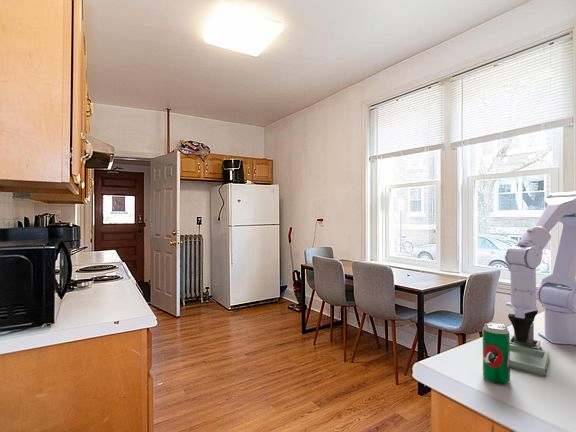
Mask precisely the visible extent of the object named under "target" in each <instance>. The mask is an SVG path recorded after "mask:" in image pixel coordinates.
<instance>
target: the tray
mask: <svg viewBox="0 0 576 432" xmlns="http://www.w3.org/2000/svg"><path fill="white" fill-rule="evenodd" d="M549 361H550V353H549V351H543V350H540V349H539V350H535V349H531V348H526V347H522V346H517V345H512V344H510V369H514V370H517V371H521V372H525V373H529V374H533V375H537V376H541V377H543V378H544V377H545V376H546V372H547V370H548V369H547V368H548V365H549Z"/></svg>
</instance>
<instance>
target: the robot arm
mask: <svg viewBox="0 0 576 432" xmlns="http://www.w3.org/2000/svg"><path fill="white" fill-rule="evenodd" d="M544 208H545V209H544V211H543V212H542V214H541V216H540V218H539V219H538V221H537V223H536V225H535V226H530V227H528V228H527V229H526V231H525V232H524V234H523V235H522V237H521V238H520V239H519V241H518V242H517V244H516V245H513V246H511V247H509V248H508V249H507V250H506V254H505V255H504V260H505V262H506V264H507V267H508V268H507V270H508V271H509V272H510V301H508V302H505V306H507V307H510V308H511V309H512V310H513V311H514V313H508V315H507V317H508V319H509V321H510V323H511V325H512V328H513V333H514V332H515V336H516V340H517V342H522V343H527V340H528V335H529V330H530V326H531V324H532V323H534V321H535V318H536V316H537V315H538V313H539V310H538V306H537V301H538V302H539V304H541V307H542V308H544V332H541V331H539V332H538V333H537V335H539V336H541V337H543V338H544V339H545V340H547V341H549V342H550V343H552V344H558V345H559V344H560V345H562V344H563V345H573V346H576V191H567V192H566V191H565V192H550V193H548V195H547V196H546V199H544ZM557 223H561V224H562V225H563V226H562V230H561V236H560V239H559V243H558V244H559V245H558V247H557V253H556V257H555V261H554V266H553V270H552V274H550V275H548V276H546V277H544V278H542V279H541V283H540V285H539V287H538V288H537V278H536V277H537V269H536V268H538V267H539V266H540V265H541V262H542V257H543V254H544V252H543V251H544V249H545V247H546V246H547V244H548V243H549V242H550V240H551V238H552V235H551V233H550V232H551V231H552V230H553V228H554V227H555V226H556V225H557Z"/></svg>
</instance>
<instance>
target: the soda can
mask: <svg viewBox="0 0 576 432" xmlns="http://www.w3.org/2000/svg"><path fill="white" fill-rule="evenodd" d="M510 336H511V335H510V331H509V329H508V326H506V325H504V324H501V323H495V322H485V323H484V326H483V327H482V376H483V377H484V378H485V380H487V381H488V382H490V383H493V384H496V385H507V384H509V383H510V382H511V368H510Z"/></svg>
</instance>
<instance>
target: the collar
mask: <svg viewBox="0 0 576 432" xmlns="http://www.w3.org/2000/svg"><path fill="white" fill-rule="evenodd" d="M510 344H512V345H517V346H522V347H526V348H531V349H535V350H540V349H541V340H537V339H534V347H533V346H528V345H523V344H518V343H514V335H510Z"/></svg>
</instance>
